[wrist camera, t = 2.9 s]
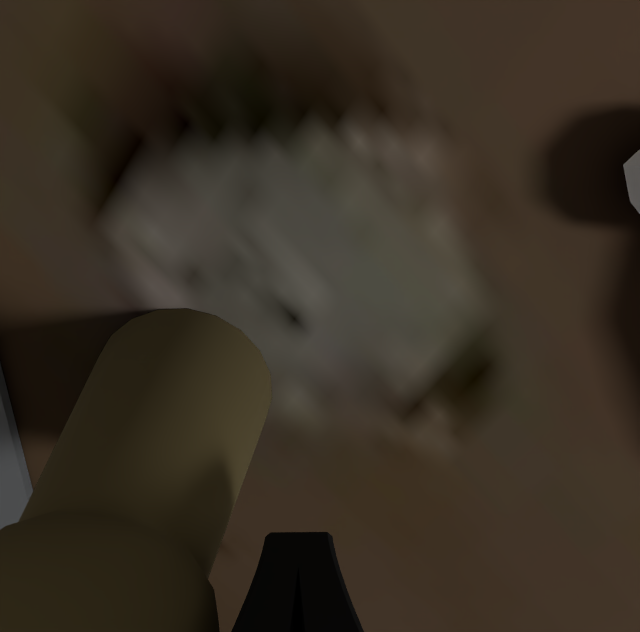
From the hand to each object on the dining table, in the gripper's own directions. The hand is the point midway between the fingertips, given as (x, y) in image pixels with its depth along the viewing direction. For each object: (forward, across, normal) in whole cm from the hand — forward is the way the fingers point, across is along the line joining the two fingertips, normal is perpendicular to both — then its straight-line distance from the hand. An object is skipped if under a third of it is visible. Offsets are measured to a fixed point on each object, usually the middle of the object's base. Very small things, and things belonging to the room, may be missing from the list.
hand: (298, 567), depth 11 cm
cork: (+8, +4, 0) cm, 9 cm away
